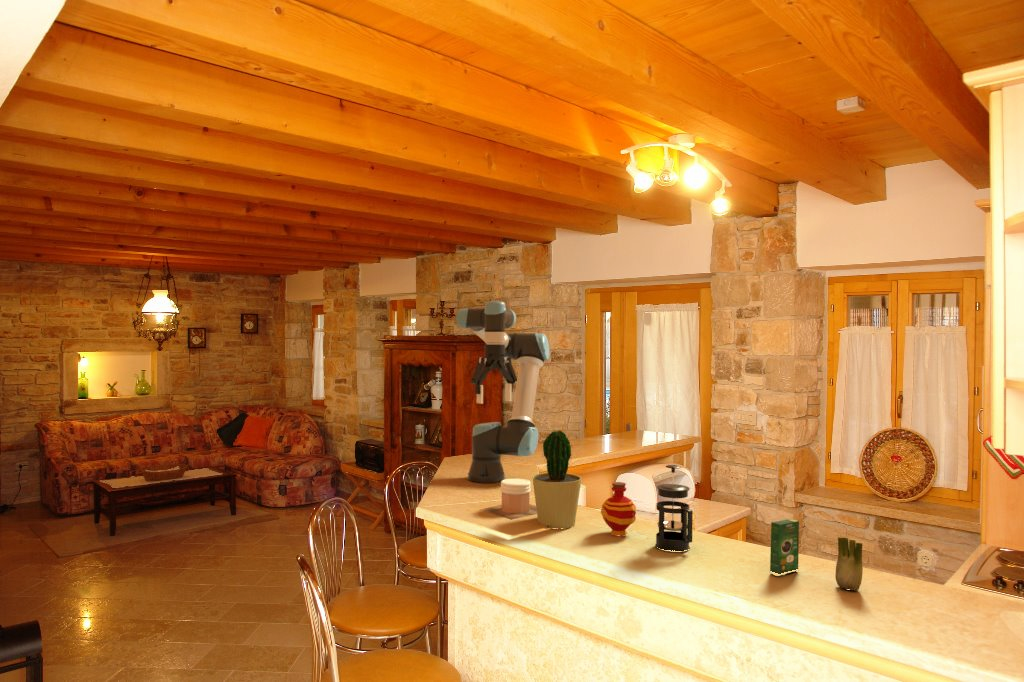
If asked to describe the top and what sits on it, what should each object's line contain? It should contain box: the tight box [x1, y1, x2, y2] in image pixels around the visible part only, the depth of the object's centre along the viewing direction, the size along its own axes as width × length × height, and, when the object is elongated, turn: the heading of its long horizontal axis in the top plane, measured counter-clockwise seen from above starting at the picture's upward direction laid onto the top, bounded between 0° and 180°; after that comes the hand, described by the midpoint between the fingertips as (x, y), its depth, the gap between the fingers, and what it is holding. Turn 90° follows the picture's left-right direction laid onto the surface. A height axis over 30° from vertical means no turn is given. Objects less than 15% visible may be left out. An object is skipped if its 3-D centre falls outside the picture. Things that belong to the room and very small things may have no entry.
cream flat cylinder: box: [500, 478, 532, 495], centre depth 225 cm, size 10×10×4 cm
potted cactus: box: [532, 429, 582, 530], centre depth 213 cm, size 15×15×30 cm
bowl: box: [501, 491, 531, 514], centre depth 225 cm, size 9×9×6 cm
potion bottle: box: [600, 481, 637, 536], centre depth 203 cm, size 10×10×15 cm
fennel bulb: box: [834, 536, 864, 591], centre depth 159 cm, size 6×5×12 cm
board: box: [479, 503, 537, 520], centre depth 225 cm, size 18×16×1 cm
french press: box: [655, 464, 694, 551], centre depth 190 cm, size 12×9×23 cm
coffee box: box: [769, 518, 800, 574], centre depth 170 cm, size 8×3×13 cm, turn 122°
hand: (494, 402), depth 248 cm, fingers open, 13 cm apart
